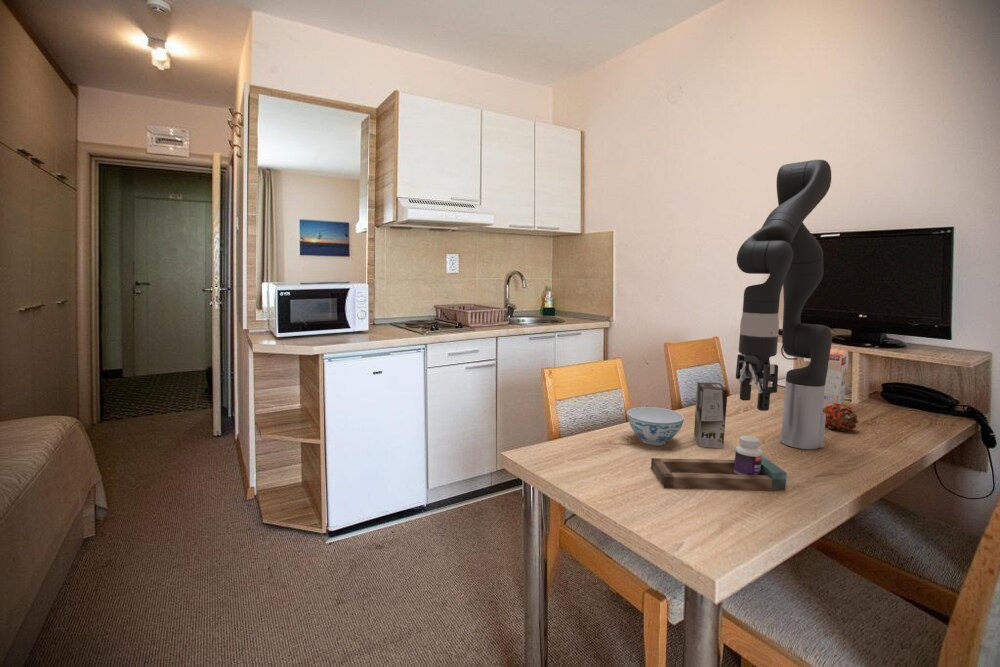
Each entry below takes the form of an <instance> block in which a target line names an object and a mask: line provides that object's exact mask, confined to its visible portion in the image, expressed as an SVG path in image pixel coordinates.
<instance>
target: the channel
mask: <svg viewBox="0 0 1000 667" xmlns="http://www.w3.org/2000/svg"><path fill="white" fill-rule="evenodd" d="M650 460H651V462H650V469H651V470H652V472H653V473H654V474H655V476H656V478H657V479H658V480H659V482H660V484H661V485H662V486H663V488H664V489H698V490H699V489H700V490H701V489H703V490H737V491H738V490H743V491H744V490H745V489H747V490H748V491H752V490H753V491H754V490H755V491H784V490H785V491H786V486H787V478H788V477H787V476H788V473H787V472H786V471H785V470H783V469H782V468H781V467H779V466H778V465H777V464H775V463H774V462H773V461H772V460H771V459H769V458H767V457H766V456H765V455H763V454H762V460H761V471H760V475H734V465H735V459H717V458H716V459H711V458H710V459H709V458H708V459H707V458H706V459H705V458H666V457H665V458H661V457H659V458H656V457H655V458H654V457H652V458H651V459H650ZM745 491H746V490H745Z"/></svg>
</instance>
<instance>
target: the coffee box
mask: <svg viewBox="0 0 1000 667" xmlns="http://www.w3.org/2000/svg"><path fill="white" fill-rule="evenodd" d="M728 390H729V389H727V388H726V387H725V386H724V385H722V383H720V382H699V381H698V382H696V391H695V392H696V394H695V395H696V396H695V409H694V410H695V414H694V430H693V431H694V433H693V437H694V439H695V441H696V443H697V444H698V446H699V447H700V448H701V447H702V448H712V449H713V448H714V449H724V445H725V443H724V442H725V432H726V431H725V430H726V429H725V428H726V417H727V406H728V405H727V404H728V393H729V391H728Z"/></svg>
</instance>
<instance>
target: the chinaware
mask: <svg viewBox="0 0 1000 667" xmlns="http://www.w3.org/2000/svg"><path fill="white" fill-rule="evenodd" d="M626 415H627V420H628V424H629V425H630V429H632V431H633V432H634V433H635V434H636V435H637V436H638V437H639V438H640V441H641V440H642V441H643V442H642V441H641V442H642V443H644V442H645V443H644V444H646V443H648V444H647V445H650V444H653V445H652V446H664V445H666V444H667V442H668V441H670V440H671V439H673V438H674V437H675V436H676V435H677V434H678V433H679V432H680V430H681V429H682V428H681V427H682V425H683V423H684V421H685V420H684V419H685V416H684V415H683V414H682V413H680V412H678V411H676V410H671V409H668V408H662V407H656V406H655V407H653V406H651V407H650V406H641V407H640V406H639V407H633V408H630V409H627V412H626ZM663 444H664V445H663Z"/></svg>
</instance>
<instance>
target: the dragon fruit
mask: <svg viewBox="0 0 1000 667" xmlns="http://www.w3.org/2000/svg"><path fill="white" fill-rule="evenodd" d="M833 404H834V405H831V406H826V407H825V408H823V412H824V413H826V422H825V425H827V428H828V429H830V430H834V429H837V430H838V431H842V432H845V431H846V430H847V429H851V430H853V429H855V428H856V427H857V426H856V425H857V424H858V423H860V421H859V420H858V414H856V412H855V411H854V410H852V408H851V407H850V406H848V405H847V404H845V403H843V404H842V405H841V404H837V403H833Z"/></svg>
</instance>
